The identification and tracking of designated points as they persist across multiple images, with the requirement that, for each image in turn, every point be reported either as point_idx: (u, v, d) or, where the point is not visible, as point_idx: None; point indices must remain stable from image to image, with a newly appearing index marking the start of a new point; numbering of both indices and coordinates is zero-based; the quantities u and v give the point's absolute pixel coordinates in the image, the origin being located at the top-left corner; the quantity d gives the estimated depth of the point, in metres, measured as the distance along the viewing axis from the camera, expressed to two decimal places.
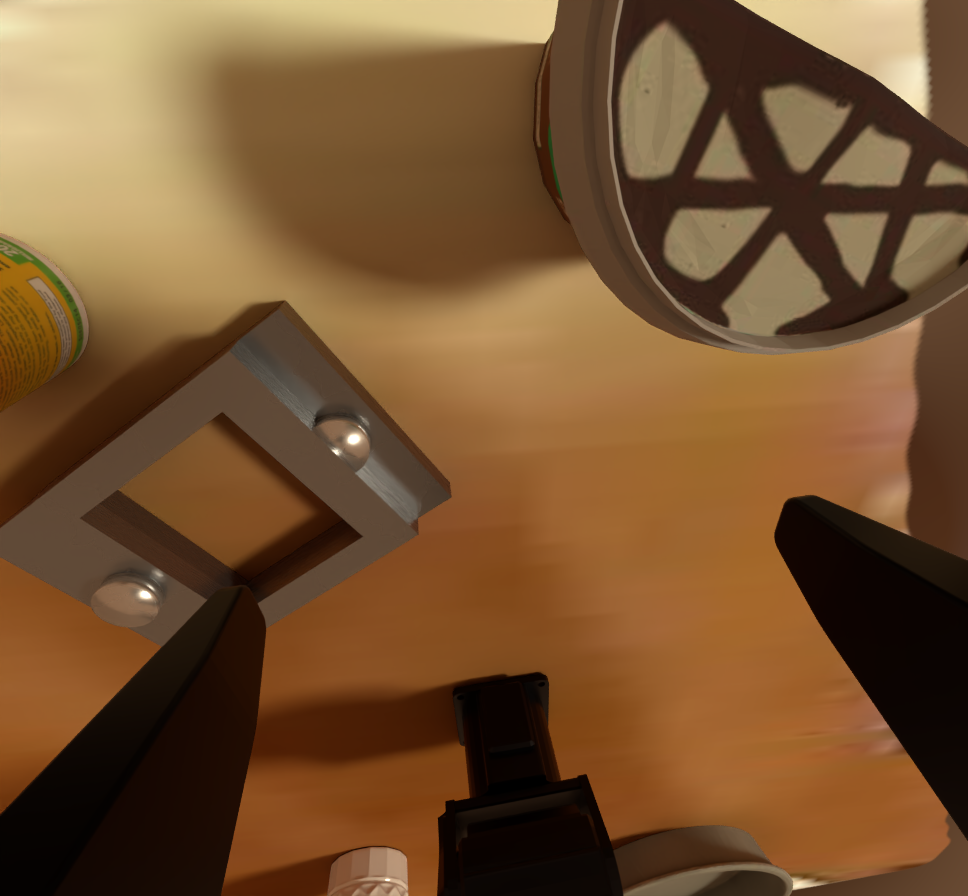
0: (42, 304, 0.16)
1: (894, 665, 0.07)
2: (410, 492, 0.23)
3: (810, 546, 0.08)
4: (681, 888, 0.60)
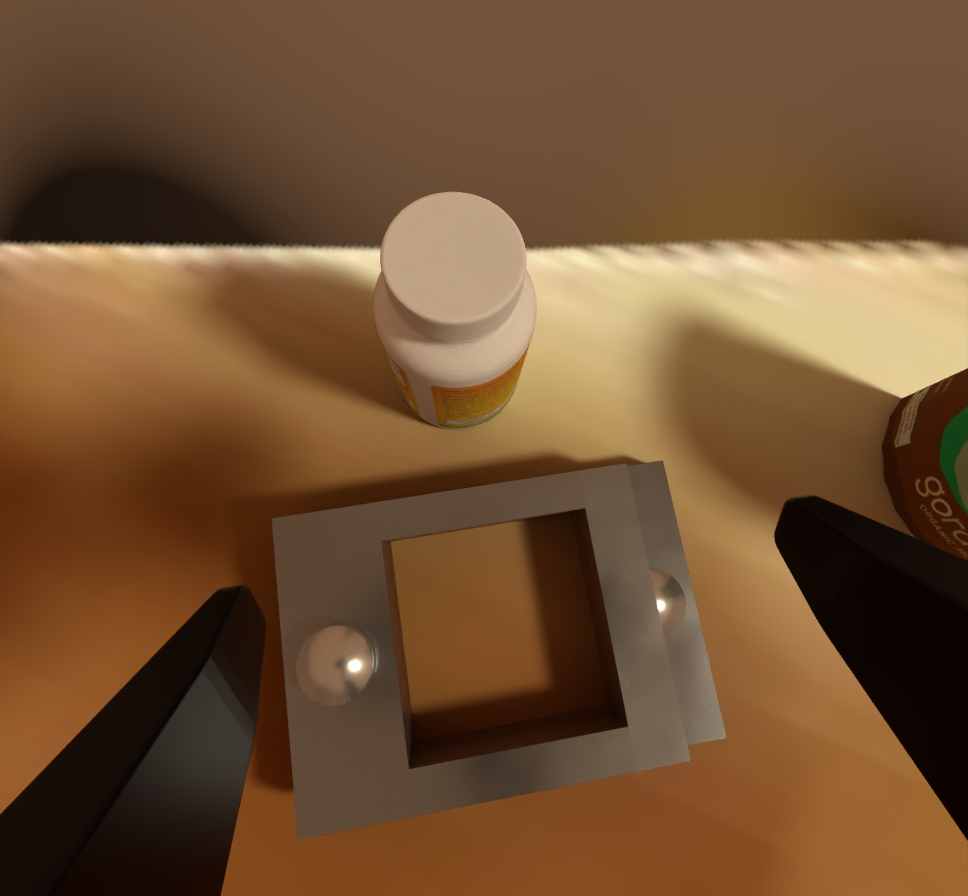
0: None
1: (894, 665, 0.07)
2: (684, 704, 0.19)
3: (810, 546, 0.08)
4: None
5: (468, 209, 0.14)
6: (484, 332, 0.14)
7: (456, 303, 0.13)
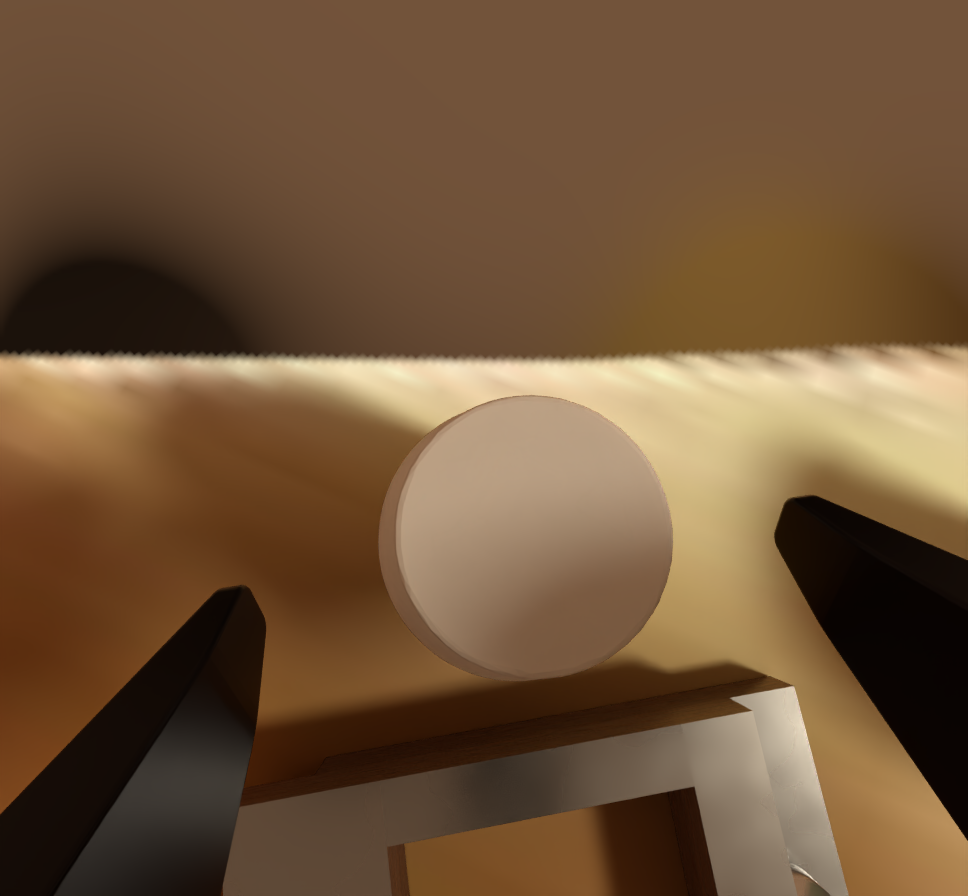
0: None
1: (894, 665, 0.07)
2: None
3: (810, 546, 0.08)
4: None
5: (560, 432, 0.07)
6: None
7: (543, 637, 0.07)
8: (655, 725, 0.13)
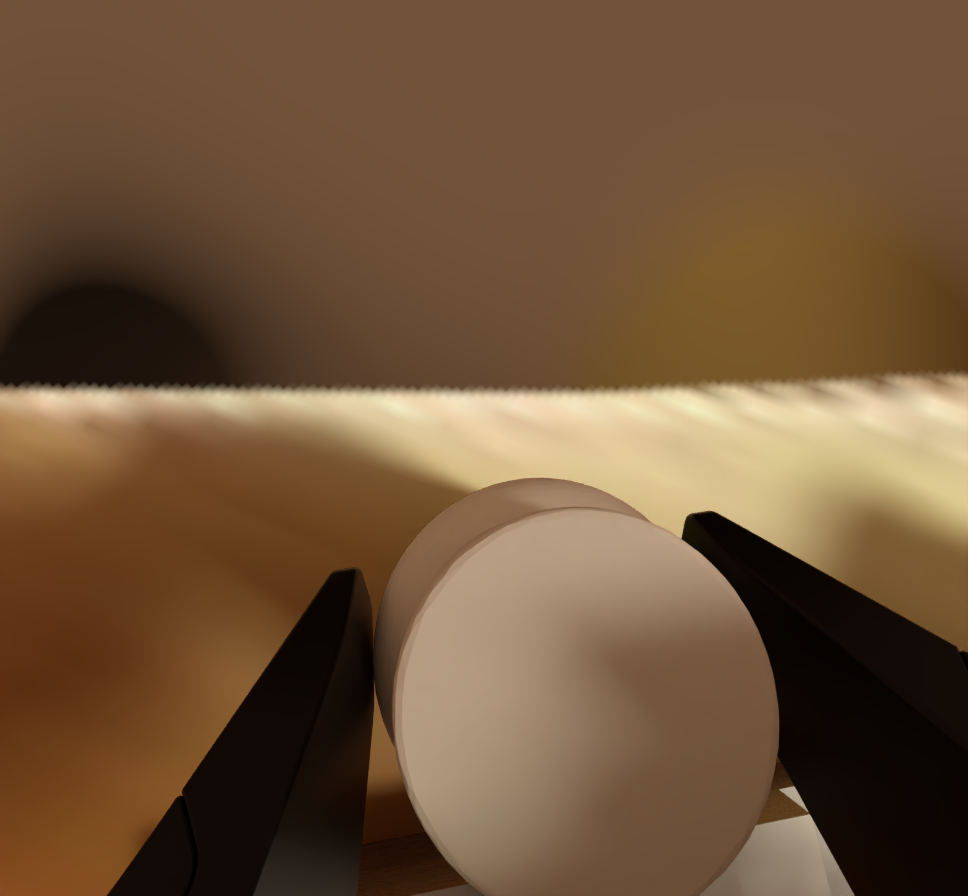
0: None
1: None
2: None
3: None
4: None
5: (620, 562, 0.05)
6: None
7: (603, 868, 0.05)
8: None
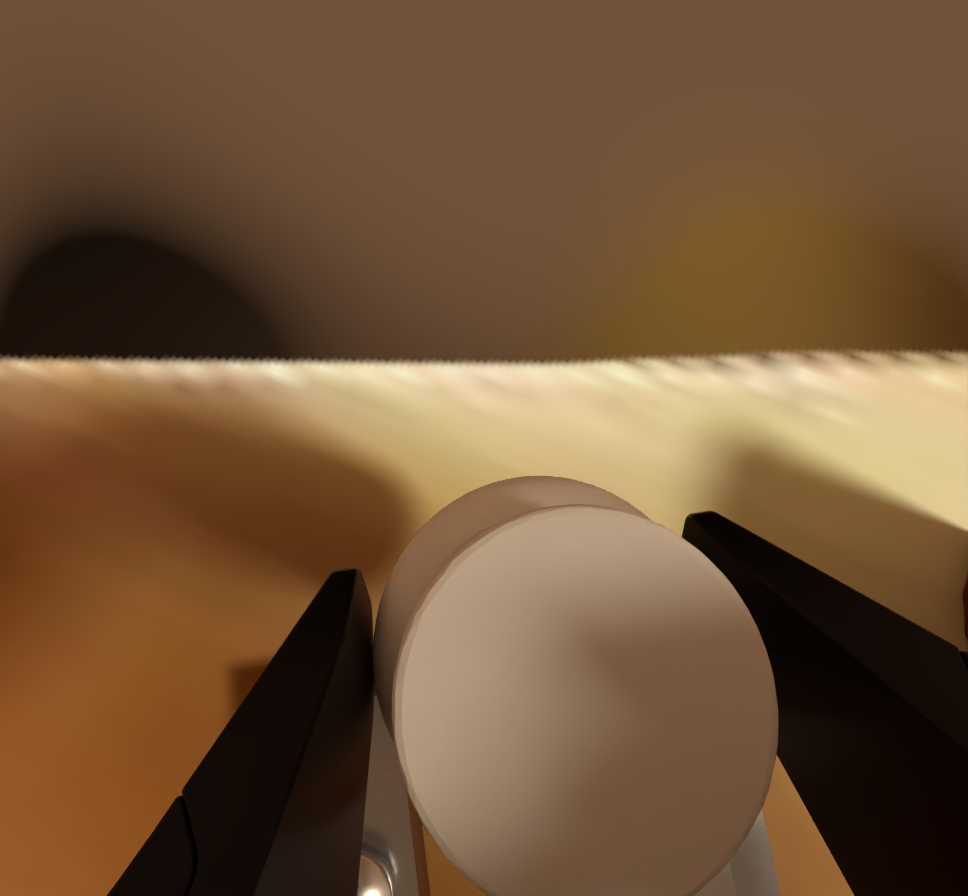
0: None
1: None
2: None
3: None
4: None
5: (620, 560, 0.05)
6: None
7: (603, 866, 0.05)
8: None
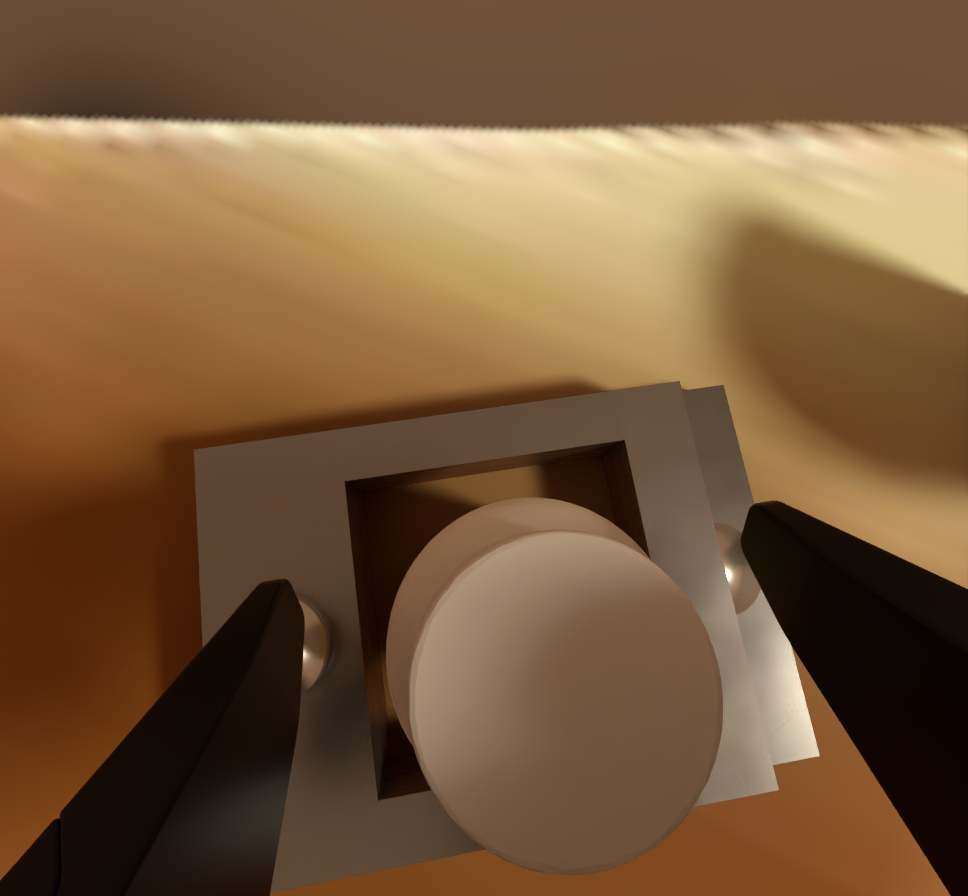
0: None
1: (851, 673, 0.07)
2: (760, 710, 0.14)
3: (773, 552, 0.08)
4: None
5: (595, 576, 0.06)
6: None
7: (578, 825, 0.06)
8: None
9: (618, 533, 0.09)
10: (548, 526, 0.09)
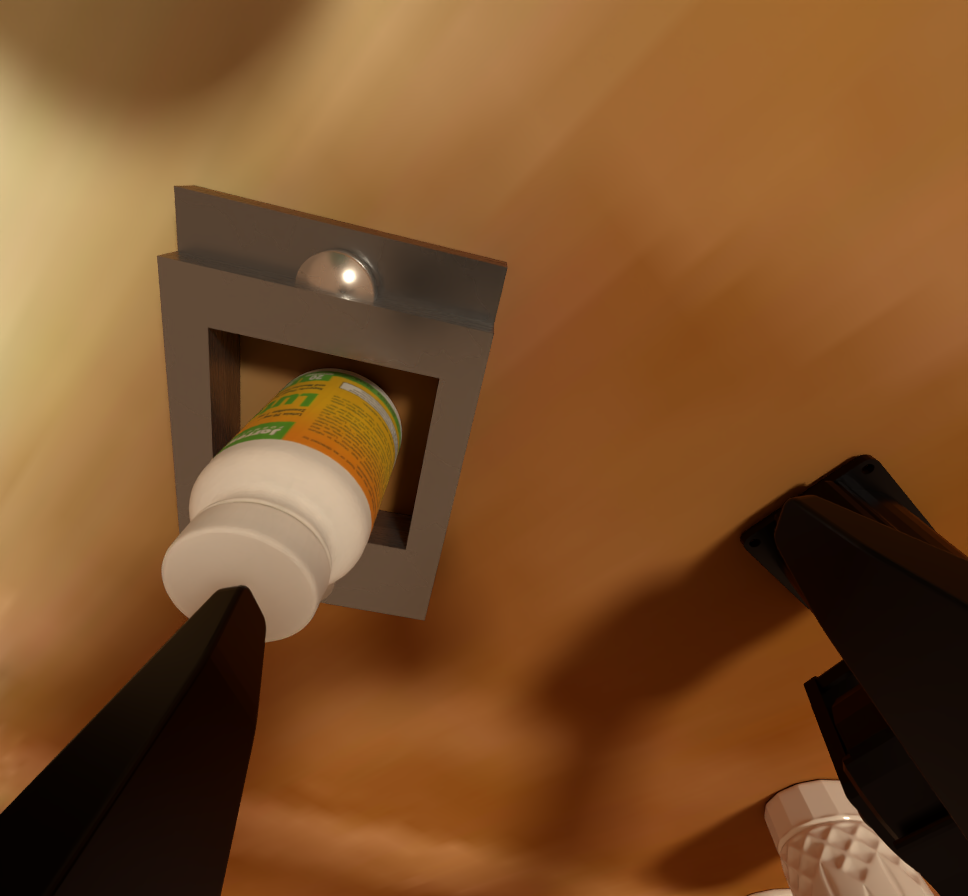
0: (358, 398, 0.18)
1: (894, 665, 0.07)
2: (458, 297, 0.17)
3: (810, 546, 0.08)
4: None
5: (186, 563, 0.12)
6: (327, 562, 0.13)
7: (295, 604, 0.13)
8: None
9: (214, 470, 0.14)
10: (200, 510, 0.14)
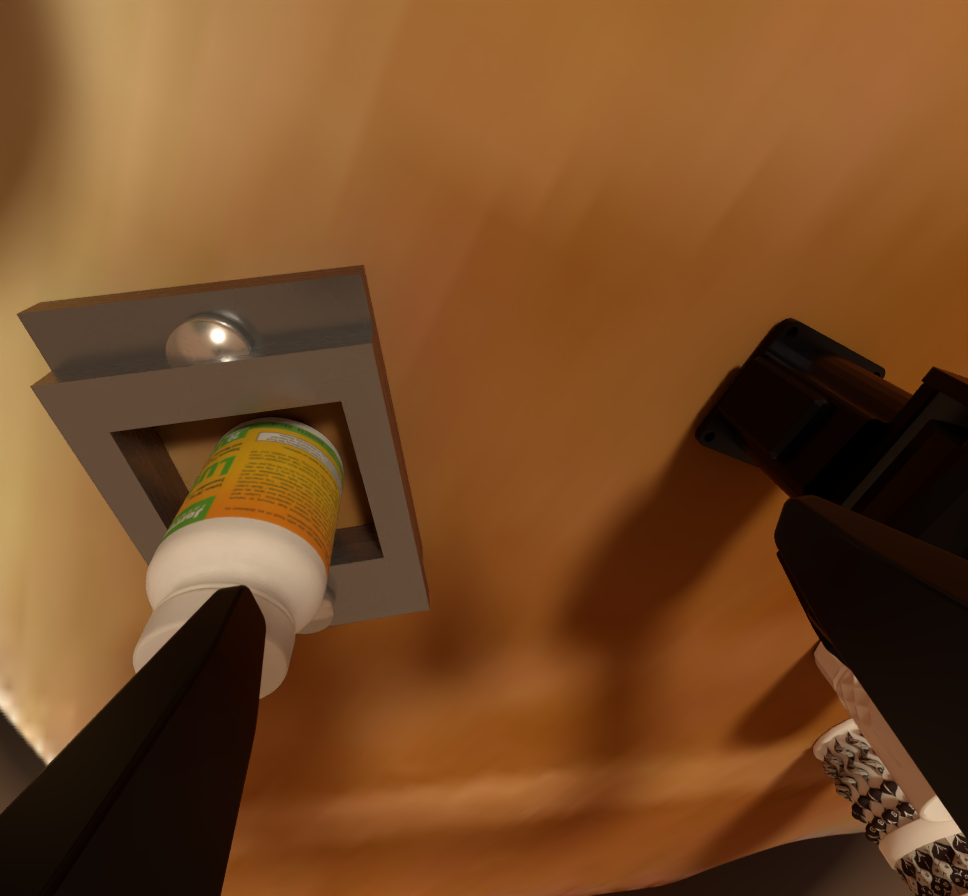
0: (276, 444, 0.19)
1: (894, 665, 0.07)
2: (328, 317, 0.17)
3: (810, 546, 0.08)
4: None
5: None
6: (282, 616, 0.14)
7: (265, 663, 0.14)
8: None
9: (154, 569, 0.15)
10: None
